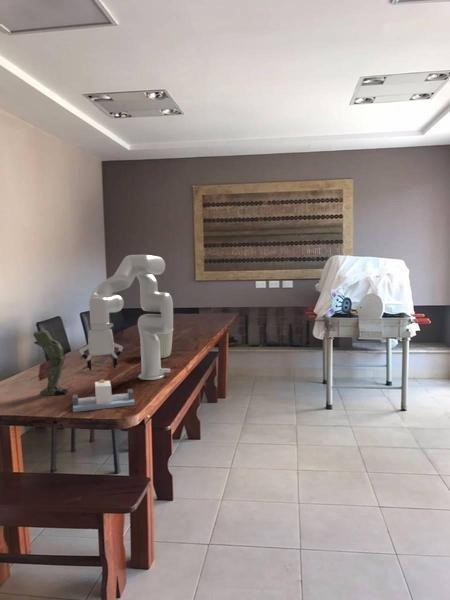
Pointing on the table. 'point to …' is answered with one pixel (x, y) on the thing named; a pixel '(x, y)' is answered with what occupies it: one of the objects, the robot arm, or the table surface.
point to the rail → (93, 399)
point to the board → (103, 405)
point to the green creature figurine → (52, 362)
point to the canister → (165, 344)
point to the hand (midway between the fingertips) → (102, 368)
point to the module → (103, 392)
